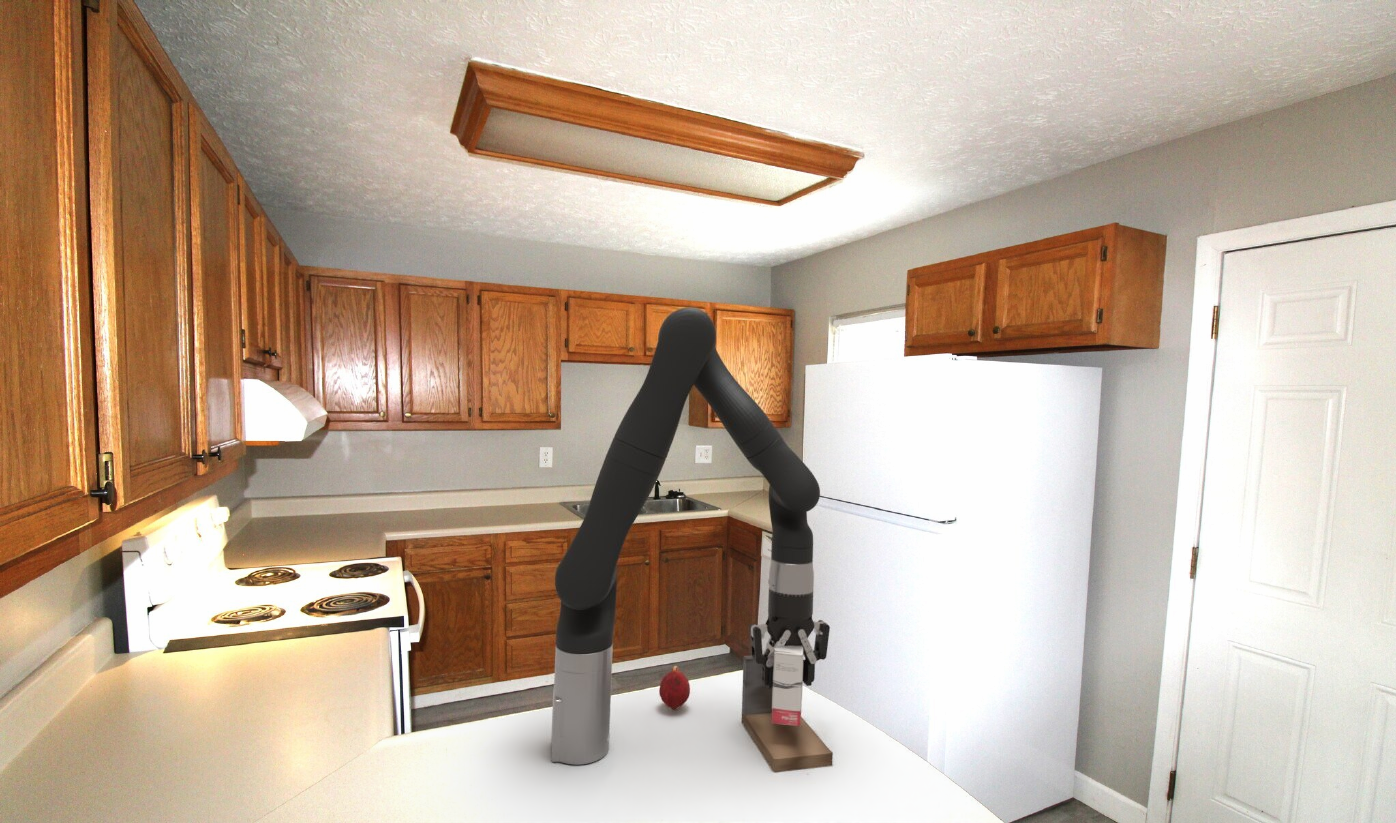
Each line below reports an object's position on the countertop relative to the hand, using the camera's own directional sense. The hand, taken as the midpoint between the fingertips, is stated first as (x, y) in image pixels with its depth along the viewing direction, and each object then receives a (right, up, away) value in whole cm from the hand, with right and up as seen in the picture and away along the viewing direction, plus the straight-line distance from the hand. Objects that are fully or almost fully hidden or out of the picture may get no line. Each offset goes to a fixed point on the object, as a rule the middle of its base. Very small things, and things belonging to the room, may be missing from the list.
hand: (788, 685), depth 103 cm
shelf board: (-1, -10, +1) cm, 10 cm away
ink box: (0, -5, 0) cm, 5 cm away
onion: (-20, -10, +11) cm, 25 cm away
